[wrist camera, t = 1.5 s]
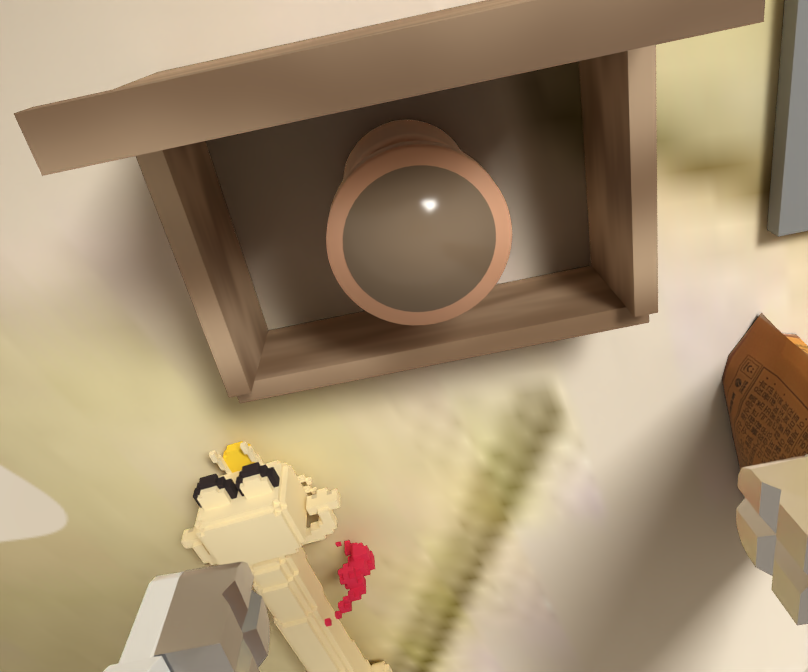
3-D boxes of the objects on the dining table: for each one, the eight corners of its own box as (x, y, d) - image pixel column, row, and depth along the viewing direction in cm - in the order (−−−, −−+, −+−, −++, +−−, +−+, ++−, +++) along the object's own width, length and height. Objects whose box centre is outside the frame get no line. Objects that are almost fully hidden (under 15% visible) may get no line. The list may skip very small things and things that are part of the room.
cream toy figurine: (431, 654, 49) (314, 411, 36) (447, 783, 42) (307, 538, 28) (307, 685, 50) (147, 459, 36) (301, 817, 42) (98, 593, 29)
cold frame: (155, 64, 28) (14, 113, 16) (597, -32, 27) (768, -51, 16) (255, 350, 34) (203, 525, 23) (611, 279, 34) (738, 423, 22)
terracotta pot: (318, 127, 29) (304, 170, 22) (466, 96, 29) (500, 129, 22) (352, 265, 32) (350, 341, 25) (486, 237, 32) (521, 306, 25)
